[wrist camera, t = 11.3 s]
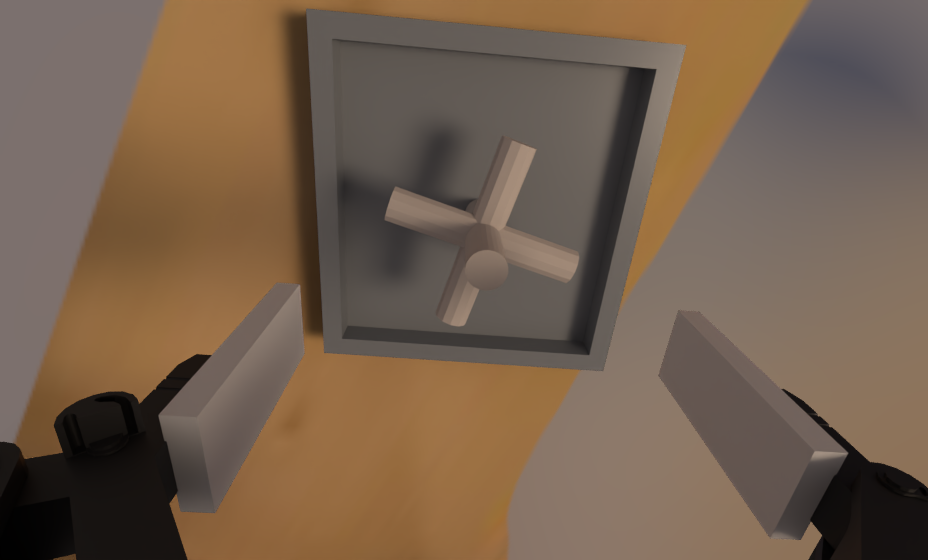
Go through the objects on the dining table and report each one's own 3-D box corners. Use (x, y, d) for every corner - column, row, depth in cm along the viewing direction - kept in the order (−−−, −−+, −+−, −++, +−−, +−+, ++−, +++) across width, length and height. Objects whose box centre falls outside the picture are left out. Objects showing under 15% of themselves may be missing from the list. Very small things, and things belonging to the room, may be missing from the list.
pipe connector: (428, 103, 26) (407, 106, 17) (587, 164, 27) (651, 199, 18) (380, 258, 29) (340, 334, 20) (522, 306, 31) (547, 398, 21)
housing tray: (593, 350, 34) (603, 371, 31) (333, 333, 33) (324, 352, 30) (665, 47, 25) (686, 45, 23) (320, 14, 24) (306, 8, 22)
